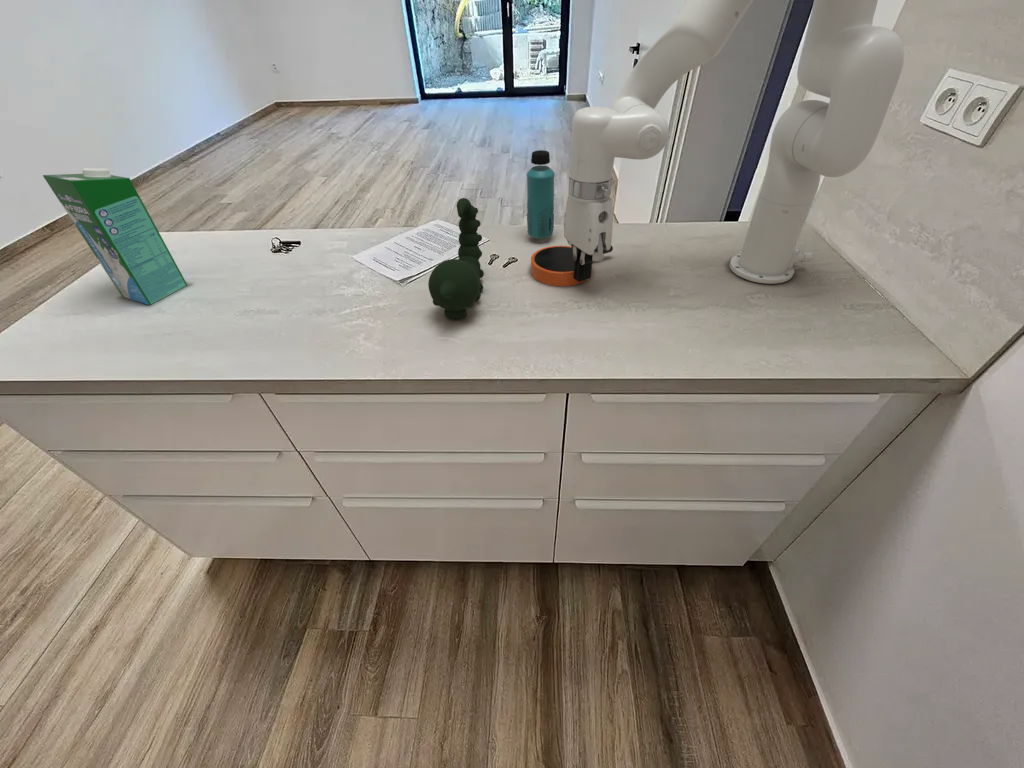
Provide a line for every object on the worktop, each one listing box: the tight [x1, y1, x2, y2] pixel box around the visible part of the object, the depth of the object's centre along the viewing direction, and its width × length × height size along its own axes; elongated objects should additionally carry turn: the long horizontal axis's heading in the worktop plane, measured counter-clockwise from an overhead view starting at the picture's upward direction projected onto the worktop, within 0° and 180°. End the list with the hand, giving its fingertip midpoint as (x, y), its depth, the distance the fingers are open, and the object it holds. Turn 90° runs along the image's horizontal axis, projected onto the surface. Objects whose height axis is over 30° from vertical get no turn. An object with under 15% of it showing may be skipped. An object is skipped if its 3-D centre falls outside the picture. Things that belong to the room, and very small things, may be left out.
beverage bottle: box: [526, 149, 555, 239], centre depth 110 cm, size 6×7×20 cm
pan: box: [530, 245, 614, 287], centre depth 104 cm, size 20×13×3 cm, turn 118°
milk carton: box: [42, 167, 188, 306], centre depth 94 cm, size 9×9×25 cm
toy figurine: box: [427, 197, 485, 321], centre depth 90 cm, size 9×19×25 cm
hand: (581, 278), depth 97 cm, fingers closed
